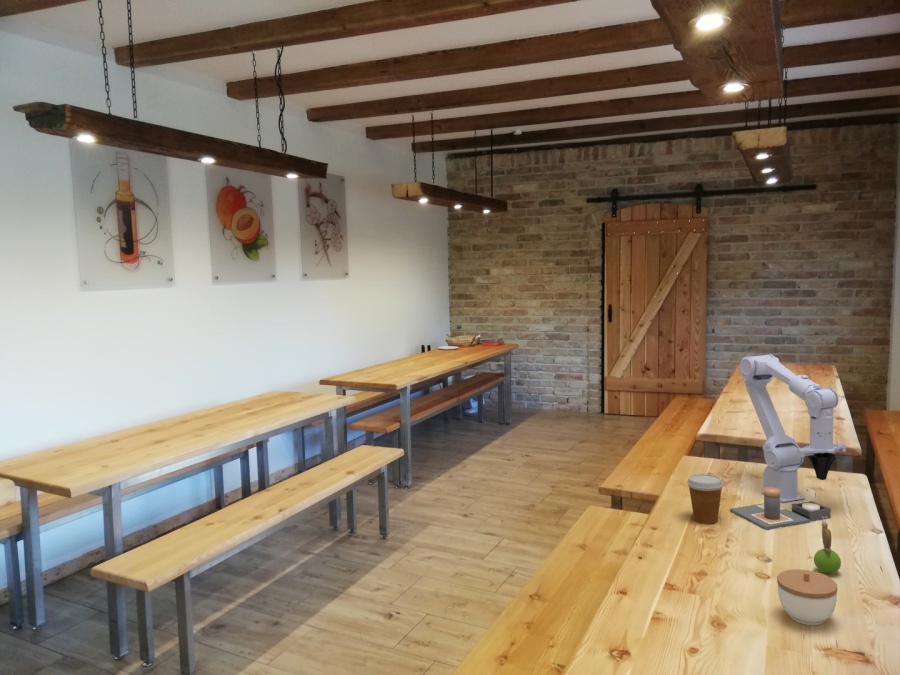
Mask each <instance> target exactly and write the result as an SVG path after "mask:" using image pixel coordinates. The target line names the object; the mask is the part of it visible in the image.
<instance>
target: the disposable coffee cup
mask: <svg viewBox="0 0 900 675" xmlns="http://www.w3.org/2000/svg"><path fill="white" fill-rule="evenodd" d="M686 484H687V486H688V489H689V495H690V501H691V509H692V514H693V521H695V522H697V523H698V524H705V525H713V524H716V523H717V522H718V520H719V514H720V505H721V497H722V495H721V494H722V489H723V486H724V482H723V480H722V478H721V477H720V476H718V475H714V474H710V473H708V474H707V473H697V474H692V475H690V476H688V478H687V481H686Z"/></svg>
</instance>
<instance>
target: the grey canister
mask: <svg viewBox="0 0 900 675" xmlns="http://www.w3.org/2000/svg"><path fill="white" fill-rule="evenodd" d="M762 489H763V490H764V494H763V503H764V517H765V518H766V519H770V520H778V519H780V507H781V501H780V489H779V488H776V487H765V488H762ZM763 490H762V491H763Z"/></svg>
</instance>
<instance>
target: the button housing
mask: <svg viewBox="0 0 900 675" xmlns="http://www.w3.org/2000/svg"><path fill="white" fill-rule="evenodd" d="M803 503H814V504H818V505H819V506H820V509H819V510H813V511H809V510H807V509H805V508H802V504H803ZM791 511H792V512H794V513H796V514H798V515H800V516H803V517H805V518H807V519H809V520H810V522H815V521H821V520H822V521H823V520H827V519H831V517H832V514H831V511H832V510H831V508H829V507H827V506H825V505H822V504H820V503H818V502H815V501H812V500H810V501H804V502H797V503H791ZM822 516H823V517H824V519H822V518H821V517H822ZM825 517H827V519H825Z"/></svg>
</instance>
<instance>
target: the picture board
mask: <svg viewBox="0 0 900 675" xmlns="http://www.w3.org/2000/svg"><path fill="white" fill-rule="evenodd" d="M729 512H730V513H732V514H734V515H736V516H738V517H740V518H742V519H744V520H745V519H746V520H745V521H747V522H749V523H752V524H753V525H755V526H757V527H758V528H759V527H760V528H762V529H763V530H765V531H769V530H774V529H780V527H781V528H786V526H787V527H792V525H793V526H798V525H803V524H809V523H811V521H810V520H809V519H807V518H805V517H803V516H800V515H798V514H796V513H794V512H792V510H789V509H787V508H785V507H783V506H780V519H778V520H770V519H766V518H765V517H764V502H763V503H759V504H752V505H746V506H745V505H744V506H738V507H733V508H729Z"/></svg>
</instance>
